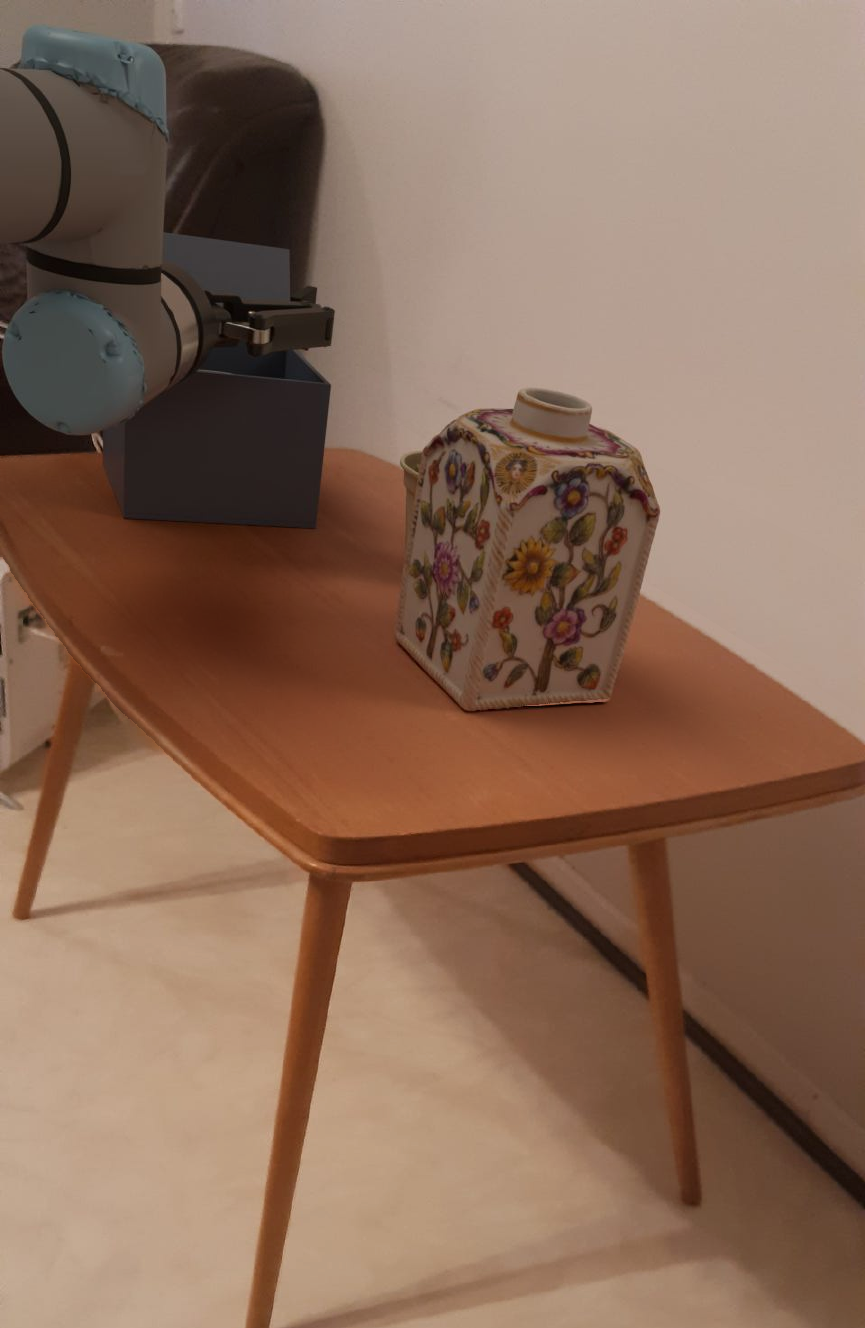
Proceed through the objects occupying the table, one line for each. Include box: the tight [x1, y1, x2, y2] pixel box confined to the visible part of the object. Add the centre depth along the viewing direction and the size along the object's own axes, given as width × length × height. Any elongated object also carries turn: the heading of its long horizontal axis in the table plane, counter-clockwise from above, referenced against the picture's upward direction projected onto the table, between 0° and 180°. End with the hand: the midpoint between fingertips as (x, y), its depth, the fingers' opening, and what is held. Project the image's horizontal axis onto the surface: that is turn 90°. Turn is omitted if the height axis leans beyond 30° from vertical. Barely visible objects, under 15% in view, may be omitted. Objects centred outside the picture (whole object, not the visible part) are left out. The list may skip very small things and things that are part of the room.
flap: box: [162, 231, 291, 308], centre depth 102 cm, size 16×7×1 cm
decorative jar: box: [394, 387, 661, 712], centre depth 79 cm, size 12×12×18 cm
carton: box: [102, 340, 332, 530], centre depth 101 cm, size 16×14×11 cm
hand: (228, 287), depth 98 cm, fingers open, 13 cm apart
